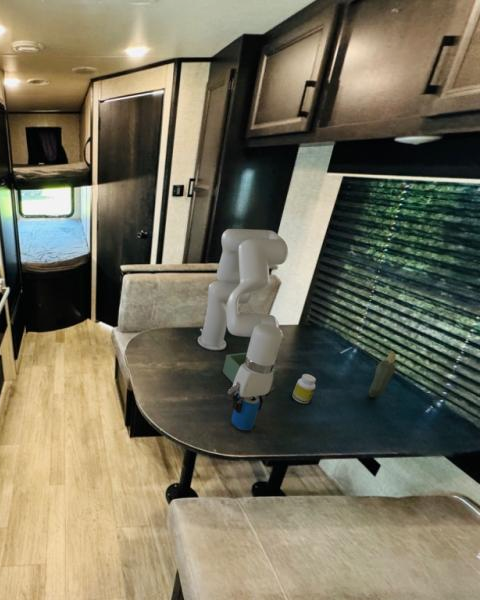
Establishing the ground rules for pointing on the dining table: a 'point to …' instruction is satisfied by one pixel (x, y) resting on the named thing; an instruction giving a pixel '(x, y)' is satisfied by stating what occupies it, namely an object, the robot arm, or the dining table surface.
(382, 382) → the olive brown bottle
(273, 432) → the dining table surface
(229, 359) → the bin
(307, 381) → the supplement bottle
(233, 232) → the robot arm
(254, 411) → the beverage can
